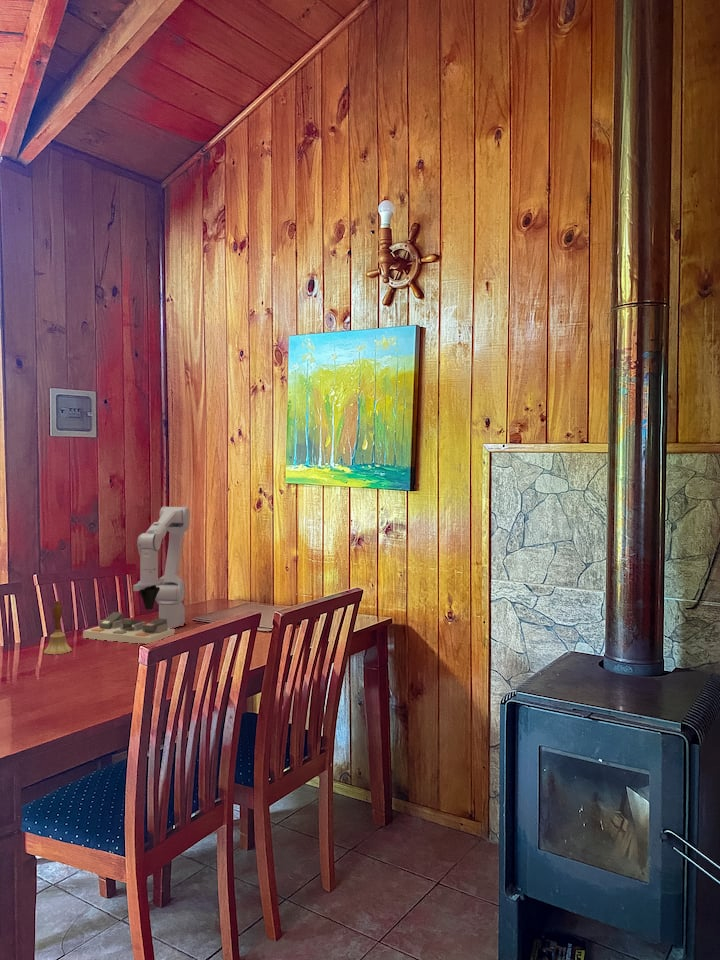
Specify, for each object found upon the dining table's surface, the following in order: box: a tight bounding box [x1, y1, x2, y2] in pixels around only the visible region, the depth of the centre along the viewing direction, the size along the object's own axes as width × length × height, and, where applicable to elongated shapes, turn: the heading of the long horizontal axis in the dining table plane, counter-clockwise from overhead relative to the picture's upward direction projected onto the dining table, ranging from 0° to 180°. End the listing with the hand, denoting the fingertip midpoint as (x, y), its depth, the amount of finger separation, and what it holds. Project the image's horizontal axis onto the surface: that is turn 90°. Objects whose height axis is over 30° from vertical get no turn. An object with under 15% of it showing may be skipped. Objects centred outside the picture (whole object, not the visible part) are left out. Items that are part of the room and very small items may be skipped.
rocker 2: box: [143, 617, 167, 631], centre depth 247 cm, size 8×4×2 cm, turn 160°
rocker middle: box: [121, 617, 146, 625], centre depth 250 cm, size 8×4×2 cm, turn 160°
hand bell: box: [43, 600, 73, 656], centre depth 228 cm, size 8×8×16 cm
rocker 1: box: [98, 611, 125, 629], centre depth 253 cm, size 8×4×2 cm, turn 160°
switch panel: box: [82, 619, 176, 645], centre depth 248 cm, size 14×27×5 cm, turn 70°
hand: (149, 608), depth 245 cm, fingers closed
